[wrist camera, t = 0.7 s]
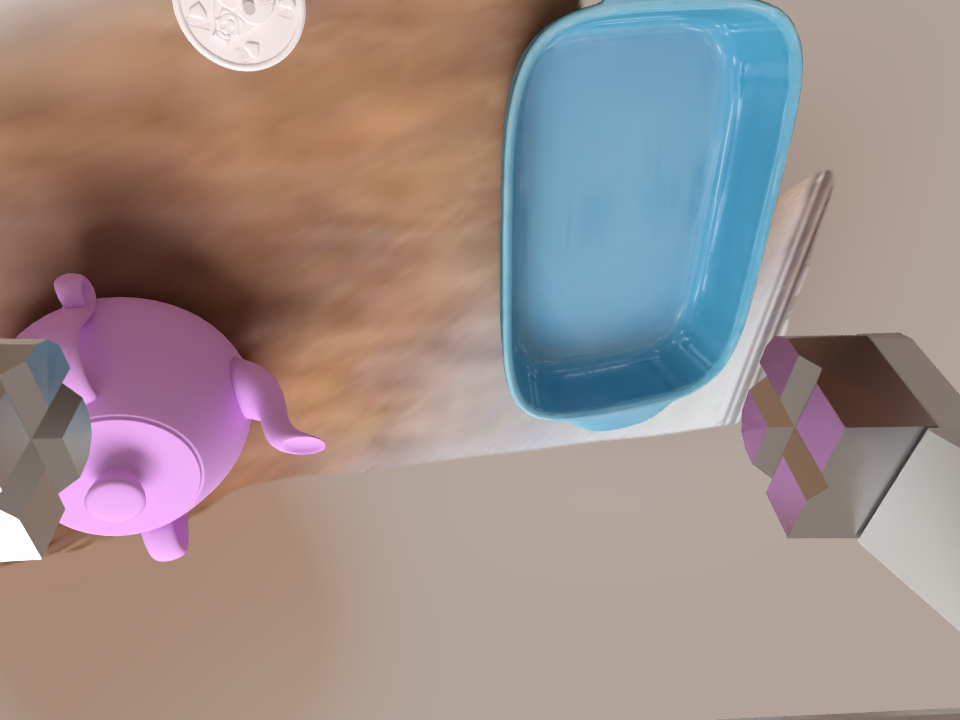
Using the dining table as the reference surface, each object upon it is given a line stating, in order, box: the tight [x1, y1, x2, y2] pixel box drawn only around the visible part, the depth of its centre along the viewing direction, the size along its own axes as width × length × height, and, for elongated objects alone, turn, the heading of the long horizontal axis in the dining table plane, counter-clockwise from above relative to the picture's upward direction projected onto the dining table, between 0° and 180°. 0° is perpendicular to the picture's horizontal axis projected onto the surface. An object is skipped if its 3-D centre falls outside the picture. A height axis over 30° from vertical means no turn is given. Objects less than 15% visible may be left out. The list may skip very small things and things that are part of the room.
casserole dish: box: [500, 0, 803, 431], centre depth 57 cm, size 37×22×7 cm, turn 0°
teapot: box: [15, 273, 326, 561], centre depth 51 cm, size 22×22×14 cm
